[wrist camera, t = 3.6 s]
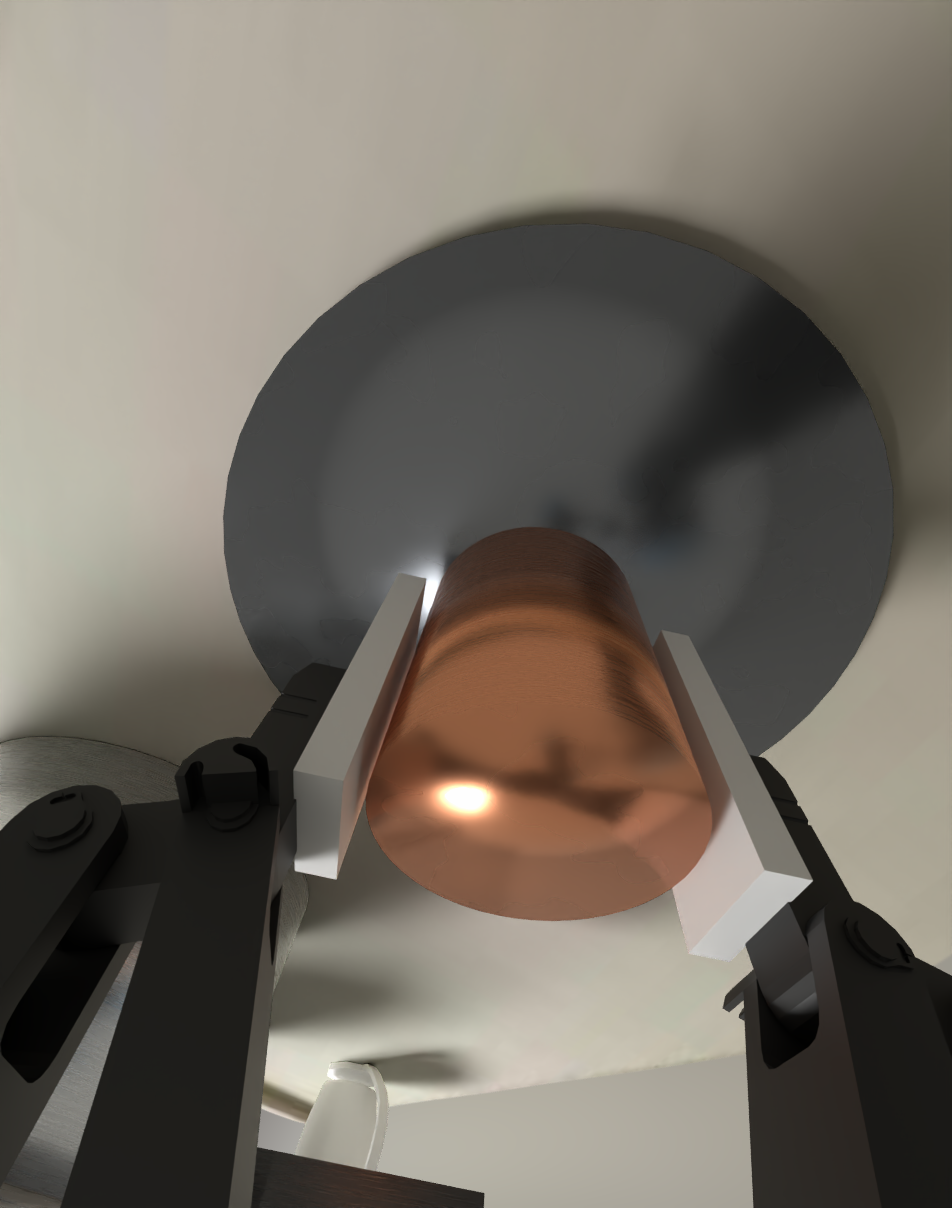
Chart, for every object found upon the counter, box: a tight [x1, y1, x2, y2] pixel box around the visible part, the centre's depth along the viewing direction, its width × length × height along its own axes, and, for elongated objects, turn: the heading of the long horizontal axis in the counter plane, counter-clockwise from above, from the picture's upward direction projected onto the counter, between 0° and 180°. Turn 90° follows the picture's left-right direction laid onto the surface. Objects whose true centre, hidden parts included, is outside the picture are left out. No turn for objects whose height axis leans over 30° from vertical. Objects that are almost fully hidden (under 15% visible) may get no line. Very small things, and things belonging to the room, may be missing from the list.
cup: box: [294, 1061, 389, 1171], centre depth 34 cm, size 7×10×8 cm
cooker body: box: [0, 736, 484, 1208], centre depth 20 cm, size 28×19×12 cm, turn 79°
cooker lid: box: [223, 224, 893, 921], centre depth 12 cm, size 19×19×8 cm
